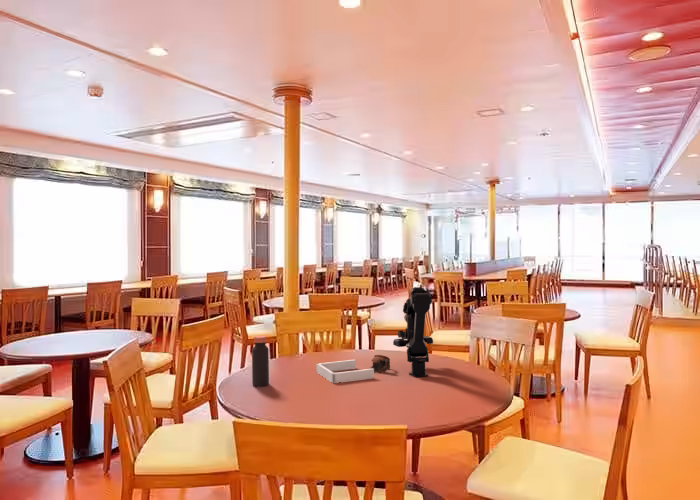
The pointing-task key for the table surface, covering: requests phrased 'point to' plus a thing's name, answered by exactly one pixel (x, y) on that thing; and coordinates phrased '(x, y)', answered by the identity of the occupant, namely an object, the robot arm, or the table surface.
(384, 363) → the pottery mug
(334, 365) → the frame
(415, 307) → the robot arm
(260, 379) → the bottle
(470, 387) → the table surface
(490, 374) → the table surface
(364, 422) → the table surface
